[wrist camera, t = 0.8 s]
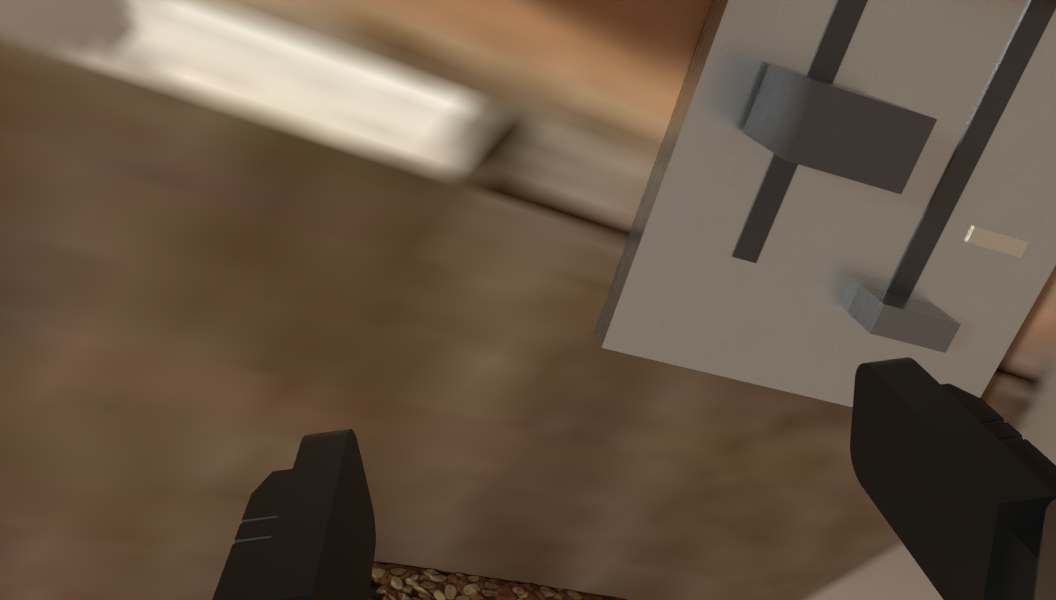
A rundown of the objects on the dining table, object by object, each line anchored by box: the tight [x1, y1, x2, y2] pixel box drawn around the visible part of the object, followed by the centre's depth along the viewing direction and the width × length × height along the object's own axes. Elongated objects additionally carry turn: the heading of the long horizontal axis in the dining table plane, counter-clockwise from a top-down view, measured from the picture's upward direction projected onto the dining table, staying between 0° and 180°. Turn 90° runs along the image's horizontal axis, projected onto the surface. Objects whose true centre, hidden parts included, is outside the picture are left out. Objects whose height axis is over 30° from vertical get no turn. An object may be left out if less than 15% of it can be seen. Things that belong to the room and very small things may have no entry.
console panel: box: [595, 0, 1056, 407], centre depth 34 cm, size 30×20×7 cm, turn 163°
